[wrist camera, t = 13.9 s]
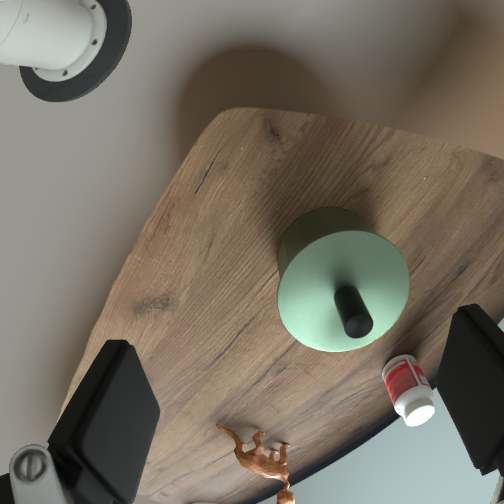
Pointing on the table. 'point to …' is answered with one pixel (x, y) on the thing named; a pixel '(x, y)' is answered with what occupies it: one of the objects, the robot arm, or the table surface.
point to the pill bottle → (408, 389)
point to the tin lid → (343, 290)
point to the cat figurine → (264, 463)
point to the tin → (316, 230)
